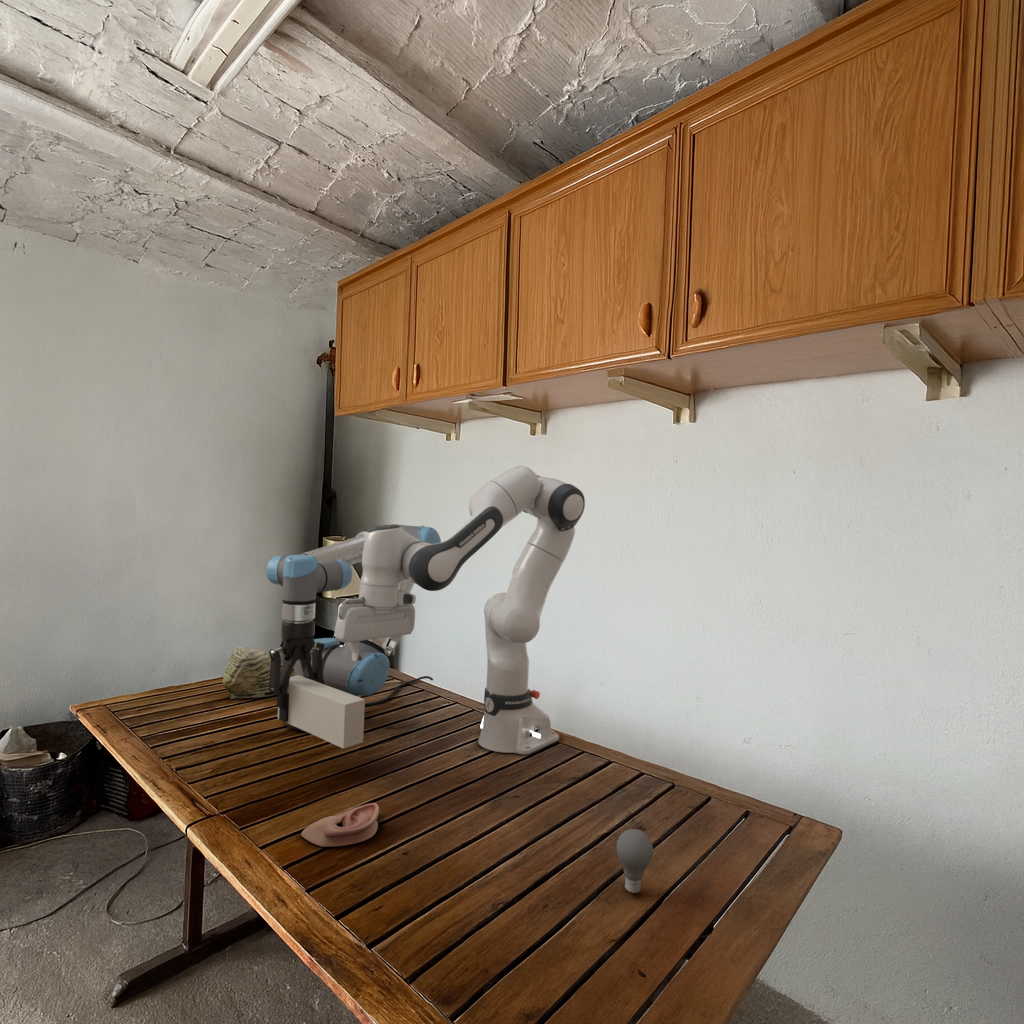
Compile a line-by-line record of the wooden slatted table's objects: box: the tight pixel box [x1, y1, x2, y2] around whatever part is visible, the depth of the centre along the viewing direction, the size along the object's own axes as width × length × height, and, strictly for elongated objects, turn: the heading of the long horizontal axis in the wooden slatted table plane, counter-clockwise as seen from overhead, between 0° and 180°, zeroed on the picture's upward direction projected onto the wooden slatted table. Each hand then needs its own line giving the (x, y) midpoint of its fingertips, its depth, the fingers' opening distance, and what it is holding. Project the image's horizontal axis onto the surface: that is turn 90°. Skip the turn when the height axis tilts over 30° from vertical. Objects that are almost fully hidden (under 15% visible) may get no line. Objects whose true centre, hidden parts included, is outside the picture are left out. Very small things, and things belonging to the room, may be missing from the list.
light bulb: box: [615, 828, 654, 894], centre depth 106 cm, size 6×6×10 cm
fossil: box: [222, 646, 281, 699], centre depth 198 cm, size 9×18×15 cm, turn 132°
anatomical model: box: [300, 802, 380, 848], centre depth 120 cm, size 13×4×12 cm
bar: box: [277, 675, 366, 749], centre depth 145 cm, size 26×5×10 cm, turn 51°
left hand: (294, 717), depth 151 cm, fingers closed on bar, 5 cm apart
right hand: (373, 657), depth 142 cm, fingers open, 8 cm apart
